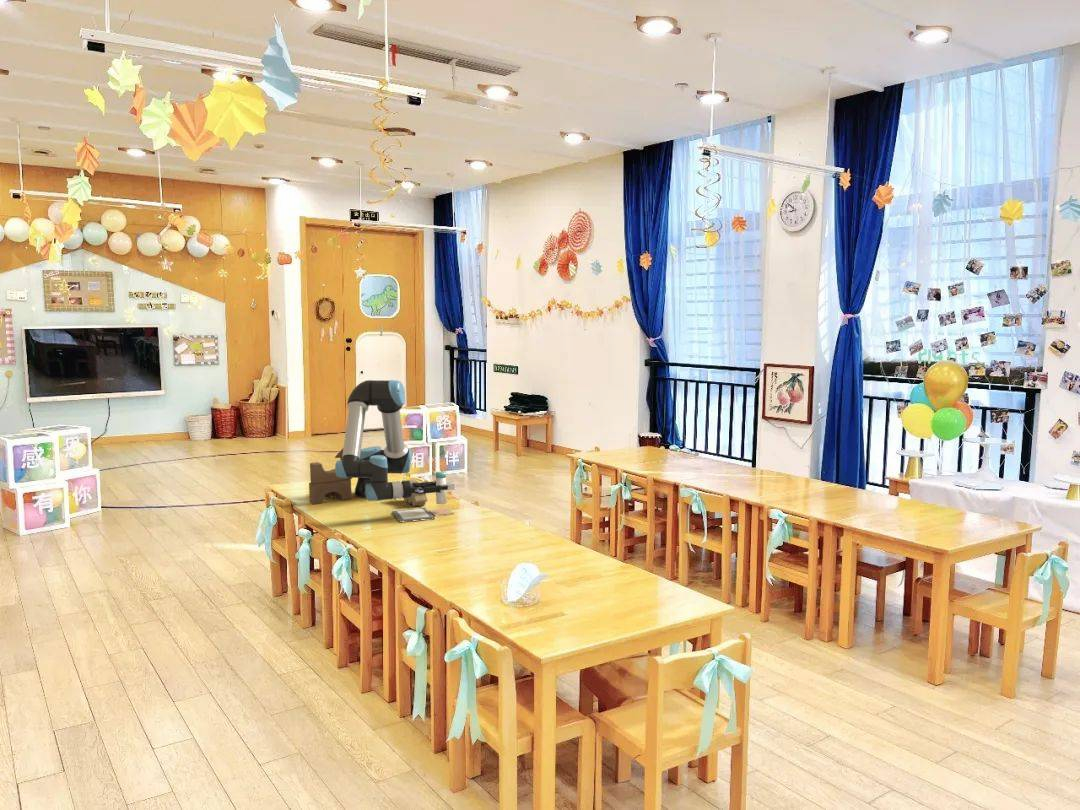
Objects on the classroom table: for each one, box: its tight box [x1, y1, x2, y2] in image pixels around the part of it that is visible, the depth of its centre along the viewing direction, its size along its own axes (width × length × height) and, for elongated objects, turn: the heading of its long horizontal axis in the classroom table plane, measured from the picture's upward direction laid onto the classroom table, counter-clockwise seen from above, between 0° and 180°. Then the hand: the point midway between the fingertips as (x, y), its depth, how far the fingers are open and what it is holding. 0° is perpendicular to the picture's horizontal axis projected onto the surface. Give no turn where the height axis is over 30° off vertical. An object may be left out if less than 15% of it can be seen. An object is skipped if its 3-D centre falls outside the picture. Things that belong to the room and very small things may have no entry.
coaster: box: [428, 507, 455, 517], centre depth 358 cm, size 9×9×1 cm
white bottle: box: [435, 471, 447, 505], centre depth 356 cm, size 5×5×14 cm
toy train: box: [402, 479, 428, 507], centre depth 375 cm, size 6×17×10 cm, turn 31°
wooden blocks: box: [308, 448, 353, 505], centre depth 385 cm, size 24×20×28 cm
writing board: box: [391, 507, 436, 523], centre depth 353 cm, size 18×15×1 cm
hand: (452, 485), depth 358 cm, fingers closed on white bottle, 4 cm apart
